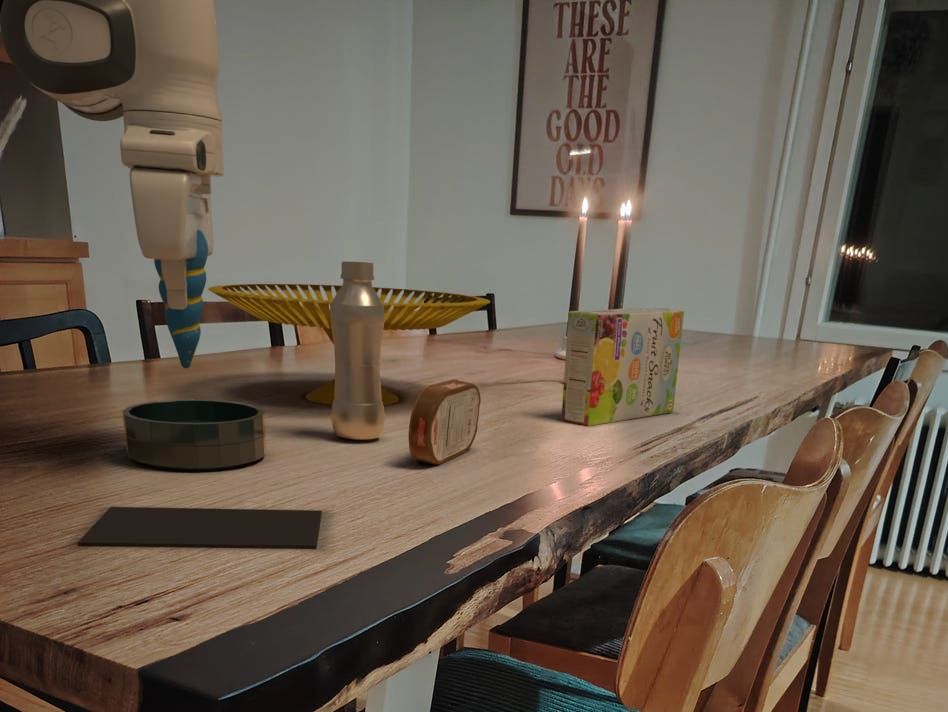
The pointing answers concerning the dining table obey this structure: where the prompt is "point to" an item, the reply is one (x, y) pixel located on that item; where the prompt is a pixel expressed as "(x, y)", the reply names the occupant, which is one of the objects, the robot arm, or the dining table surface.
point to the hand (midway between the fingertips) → (184, 306)
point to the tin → (444, 421)
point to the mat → (205, 528)
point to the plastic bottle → (357, 354)
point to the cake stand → (319, 316)
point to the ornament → (187, 320)
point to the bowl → (194, 434)
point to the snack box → (620, 364)
